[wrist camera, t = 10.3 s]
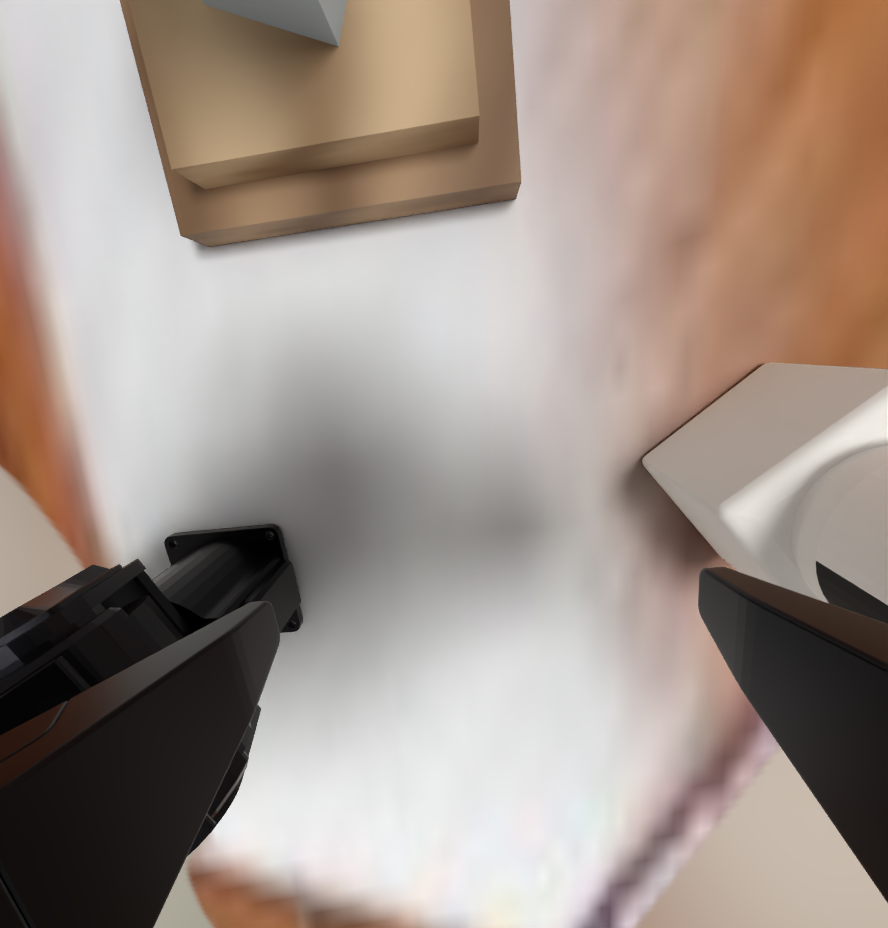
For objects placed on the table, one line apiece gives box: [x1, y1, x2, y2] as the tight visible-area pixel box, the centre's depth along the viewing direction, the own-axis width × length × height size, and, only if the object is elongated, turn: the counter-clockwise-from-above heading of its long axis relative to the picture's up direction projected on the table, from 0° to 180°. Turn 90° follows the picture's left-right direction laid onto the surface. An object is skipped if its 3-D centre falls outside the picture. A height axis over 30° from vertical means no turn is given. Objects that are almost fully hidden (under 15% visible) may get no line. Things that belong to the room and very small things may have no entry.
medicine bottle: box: [642, 362, 888, 624], centre depth 15 cm, size 7×7×12 cm
